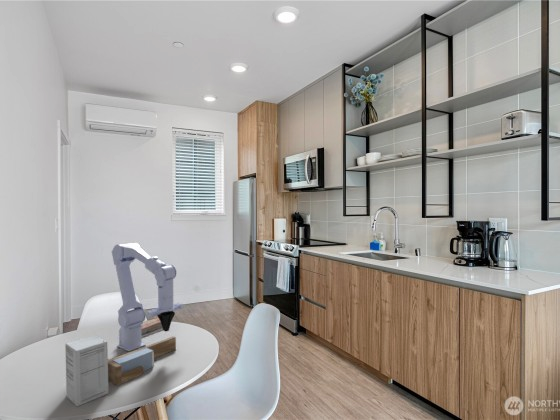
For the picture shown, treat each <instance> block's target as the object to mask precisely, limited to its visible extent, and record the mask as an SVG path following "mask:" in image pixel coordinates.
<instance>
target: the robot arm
mask: <svg viewBox="0 0 560 420" xmlns="http://www.w3.org/2000/svg"><path fill="white" fill-rule="evenodd" d="M111 255H112V260H113V261H112V262H113V265H114V266H115V269H116V276H117V280H118V284H119V290H120V291H119V292H120V295H121V301H122V305H121V307H120V308H119V309H118V310H117V313H118V318H117V320H118V324H119V326H120V328H119V329H118V330H119V331H118V344H116V346H117V347H118V348H119V349H123V350H124V351H127V352H132V351H135V350H137V349H140V348H143V347H146V346H147V343H144V342H142V341H143V340H142V339H143V338H142V337H141V324H143V322H145V320H146V317H148V318H153V317H155V316H157V318H159V319H160V322H161V324H162V328H163V330H162V331H163V332H169V331H170V327H171V323H172V321H173V319H174V317H175V315H176V312H175V310H181V309H184V308H183V307H184V306H183V303H180V302H178V303H174V280H175V278H176V277H177V268H176V267H175V266H174V265H173V264H167V263H165V262H163V261H162V260H160V259H159V257H158V256H150V255H149V254H148V253H147V252H146V251H144V249H142V246H141V245H140V244H139V243H138V242H132V243H131V242H130V243H122V244H119V243H117V244H115V245H114V246H113V248H112V250H111ZM135 260H138V261H140V262H141V263H143V264H144V268H145V269H146V270H147V271H149V272H150V273H151V274H153V275H154V278H155V280H156V285H157V297H158V298H157V299H158V300H157V302H158V303H157V304H158V305H157V307H156V308H154V309H151V310H148V311H147V314H146V310H145V309H144V307H143V303H141V302H139V301H138V300H137V297H136V296H137V295H136V293H135V288H134V283H133V277H132V272H131V268H130V265H131V264H132V263H133V262H134V261H135Z"/></svg>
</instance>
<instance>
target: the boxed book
mask: <svg viewBox="0 0 560 420" xmlns="http://www.w3.org/2000/svg"><path fill="white" fill-rule="evenodd" d="M154 361H155V358H154V351H153V350H151V349H148V348H145V349H142V350H140V351H137V352H134V353H132V354H129V355H126V356H124V357H121V358H118V359H115V360H113V362H115V363H117V364H119V365H121V374H122V373H125V372H127V371H130V370H132V369H135V368H137V367H139V366H142V367H143V372H144V371H146V370H149V369H151V368H153V367H154V366H155V362H154Z"/></svg>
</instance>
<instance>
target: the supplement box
mask: <svg viewBox="0 0 560 420" xmlns="http://www.w3.org/2000/svg"><path fill="white" fill-rule="evenodd" d="M64 345H65V381H66V382H65V384H66V386H65V387H66V388H65V389H66V390H65V391H66V393H65V395H66V398H67V399H68V400H70V401H71V402H72V403H73V404H74V405H75V406H76V407H80V406H82V405H84V404H87V403H90V402H91V401H93V400H96V399H98V398H101V397H103V396H106V395H108V394H109V381H108V359H109V357H108V356H109V355H108V341H107V340H105V339H104V338H102V337H100V336H98V335H97V334H94V335H90V336H87V337H83V338H80V339H76V340H74V341H70V342H67V343H65V344H64Z"/></svg>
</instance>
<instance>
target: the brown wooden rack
mask: <svg viewBox="0 0 560 420" xmlns="http://www.w3.org/2000/svg"><path fill="white" fill-rule="evenodd" d="M176 339H177V337H176V336H170V337H167V338H165V339H162V340H160V341H157V342H153V343H151V344H149V345H145V346H142V347H140V348H137V349H134V350H131V351H128V352H127V353H123V354H122V355H119V356H115V357H113V358H110V359H109V358H108V382H110V383H112V384H114V385H116V386H119V385H121V384H123V383H125V382H128V381H131V380H132V379H136V378H137V377H139V376H142V375H144V371H143V367H142V366H139V367H137V368H135V369H132V370H130V371H127V372H125V373H122V374H121V365H119V364H117V363H115V362H113V360H115V359H118V358H121V357H124V356H126V355H129V354H132V353H134V352H137V351H140V350H142V349H145V348H148V349H151V350H153V351H154V359H155V358H157V357H159V356H162V355H165V354H167V353H169V352H173V351H175V350H176V347H177V342H176V341H177V340H176Z"/></svg>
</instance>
